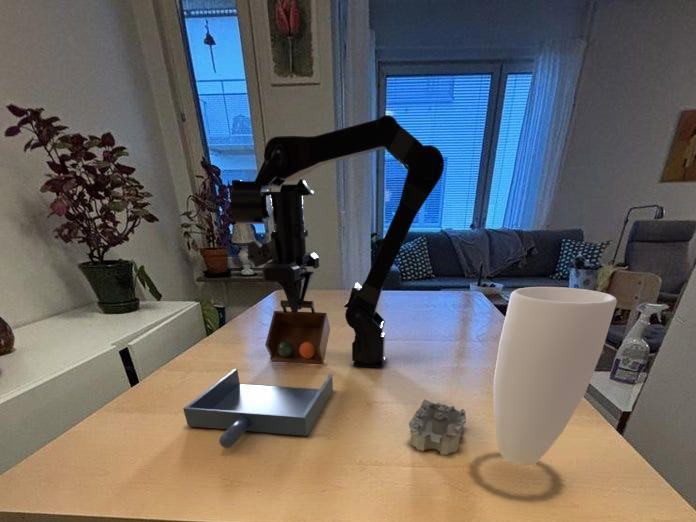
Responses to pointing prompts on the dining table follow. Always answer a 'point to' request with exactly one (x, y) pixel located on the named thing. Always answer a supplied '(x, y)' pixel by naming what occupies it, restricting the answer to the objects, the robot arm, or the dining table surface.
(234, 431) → the dustpan
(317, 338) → the basket
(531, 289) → the cup
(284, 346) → the green ball
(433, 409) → the grey castle model
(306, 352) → the terracotta ball
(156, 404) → the dining table surface
